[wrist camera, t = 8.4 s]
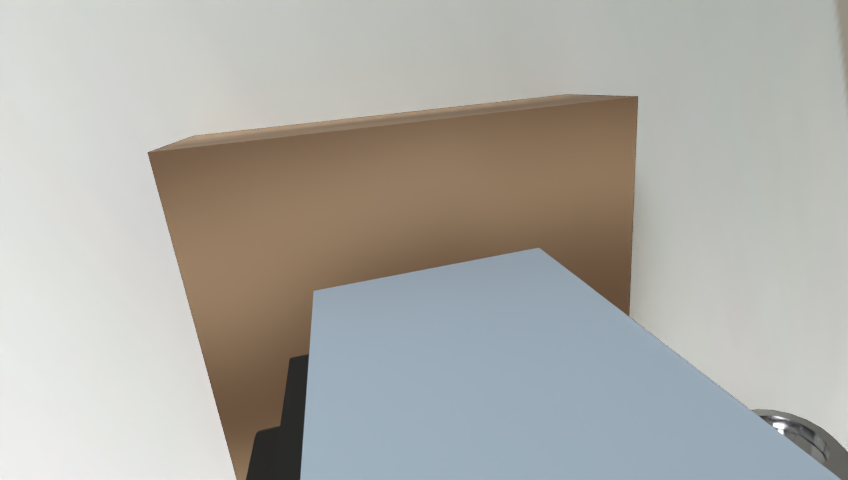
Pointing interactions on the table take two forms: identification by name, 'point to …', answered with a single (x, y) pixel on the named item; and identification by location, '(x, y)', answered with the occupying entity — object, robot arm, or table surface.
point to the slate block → (516, 386)
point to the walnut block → (382, 220)
